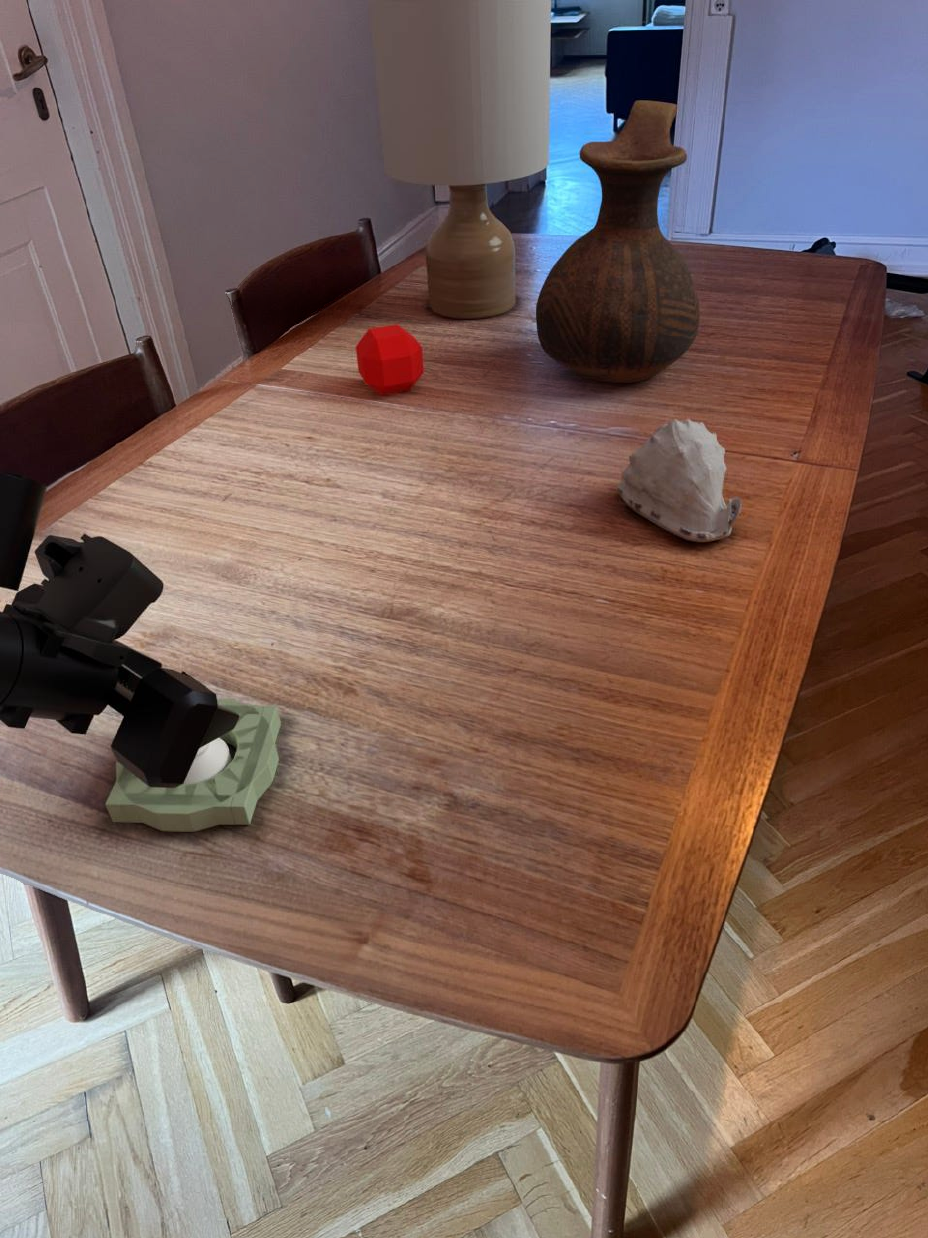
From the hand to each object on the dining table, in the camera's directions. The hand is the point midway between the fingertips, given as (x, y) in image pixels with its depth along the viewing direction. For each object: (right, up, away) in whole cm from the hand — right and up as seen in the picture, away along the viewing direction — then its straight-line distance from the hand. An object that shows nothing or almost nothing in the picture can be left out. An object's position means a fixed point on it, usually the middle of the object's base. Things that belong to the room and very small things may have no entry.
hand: (195, 694), depth 63 cm
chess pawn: (-1, -6, +3) cm, 7 cm away
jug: (+40, +40, +58) cm, 81 cm away
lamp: (+20, +56, +79) cm, 99 cm away
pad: (-1, -6, +3) cm, 7 cm away
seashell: (+43, +17, +29) cm, 54 cm away
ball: (+10, +36, +56) cm, 67 cm away
